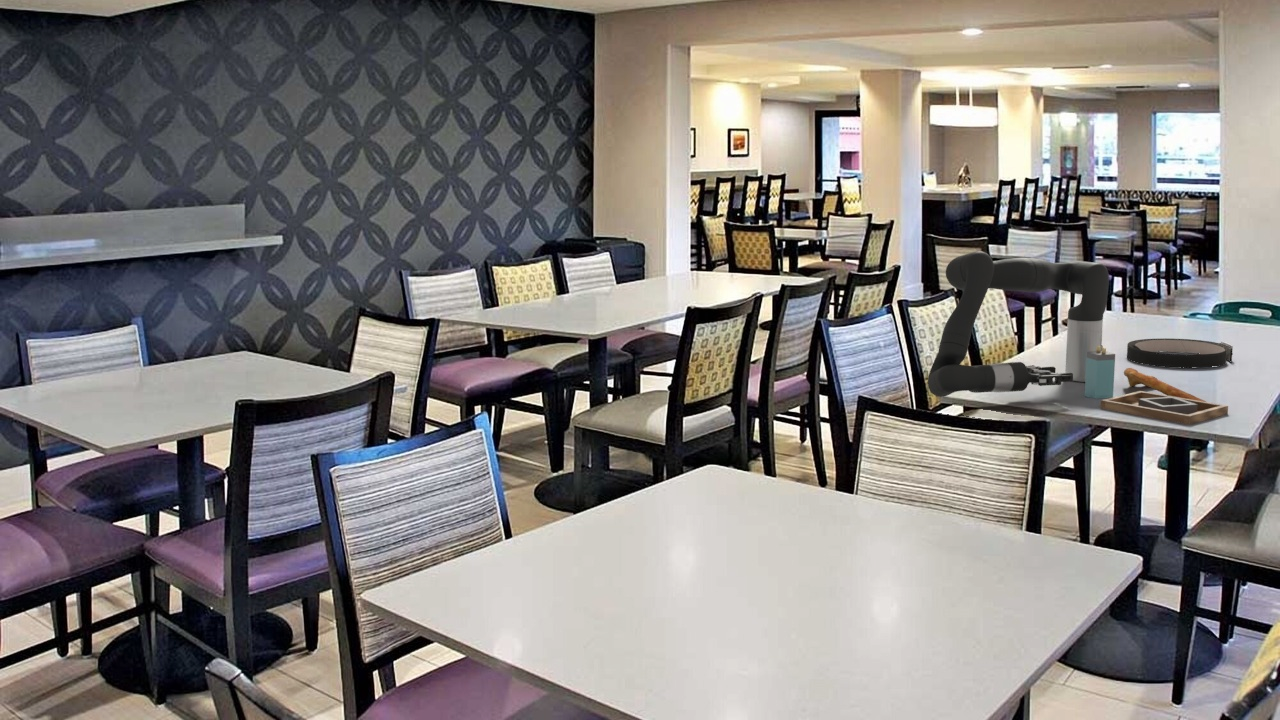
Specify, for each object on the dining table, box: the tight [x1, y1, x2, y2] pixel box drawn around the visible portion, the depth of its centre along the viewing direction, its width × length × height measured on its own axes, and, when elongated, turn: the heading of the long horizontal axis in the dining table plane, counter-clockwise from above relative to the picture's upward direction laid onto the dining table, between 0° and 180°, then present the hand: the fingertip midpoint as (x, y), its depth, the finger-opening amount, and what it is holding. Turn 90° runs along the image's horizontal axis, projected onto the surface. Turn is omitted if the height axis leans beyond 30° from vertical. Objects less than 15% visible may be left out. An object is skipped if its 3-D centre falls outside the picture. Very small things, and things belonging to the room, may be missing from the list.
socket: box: [1138, 397, 1198, 415], centre depth 281 cm, size 10×10×2 cm
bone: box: [1123, 367, 1207, 402], centre depth 299 cm, size 33×8×10 cm, turn 2°
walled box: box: [1100, 390, 1229, 426], centre depth 282 cm, size 17×23×2 cm
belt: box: [1126, 338, 1234, 369], centre depth 350 cm, size 29×30×5 cm
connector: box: [1084, 346, 1116, 400], centre depth 299 cm, size 5×5×14 cm
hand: (1063, 373), depth 297 cm, fingers open, 8 cm apart
